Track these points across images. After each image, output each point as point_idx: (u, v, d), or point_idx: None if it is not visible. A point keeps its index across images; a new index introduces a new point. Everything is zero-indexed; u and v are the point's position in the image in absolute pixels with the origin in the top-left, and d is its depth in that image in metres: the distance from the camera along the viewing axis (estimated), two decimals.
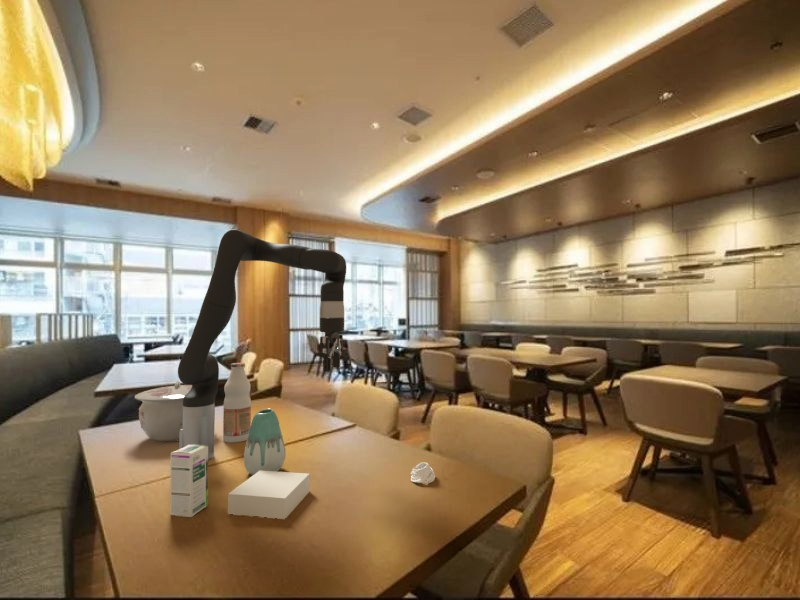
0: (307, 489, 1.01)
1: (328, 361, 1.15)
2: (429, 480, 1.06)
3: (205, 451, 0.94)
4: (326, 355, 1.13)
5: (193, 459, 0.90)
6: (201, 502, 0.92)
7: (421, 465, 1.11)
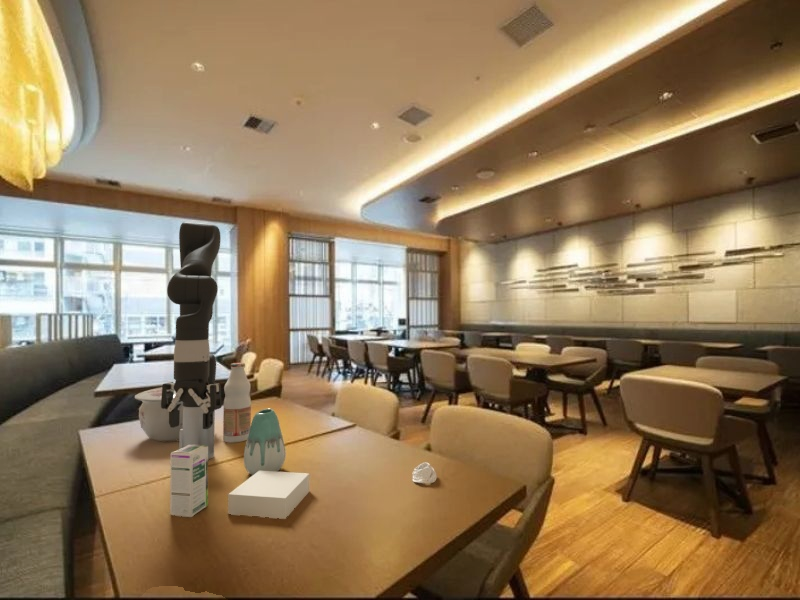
0: (307, 489, 1.01)
1: None
2: (430, 480, 1.06)
3: (205, 451, 0.94)
4: (220, 406, 0.93)
5: (193, 459, 0.90)
6: (201, 502, 0.92)
7: (422, 465, 1.11)
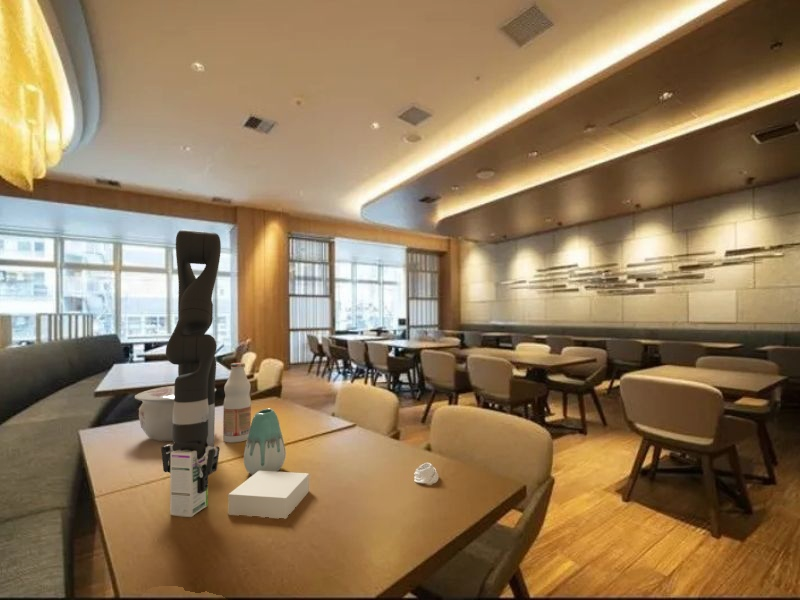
0: (307, 489, 1.01)
1: None
2: (432, 481, 1.06)
3: None
4: (215, 469, 0.92)
5: (193, 459, 0.90)
6: (201, 502, 0.92)
7: (424, 465, 1.11)
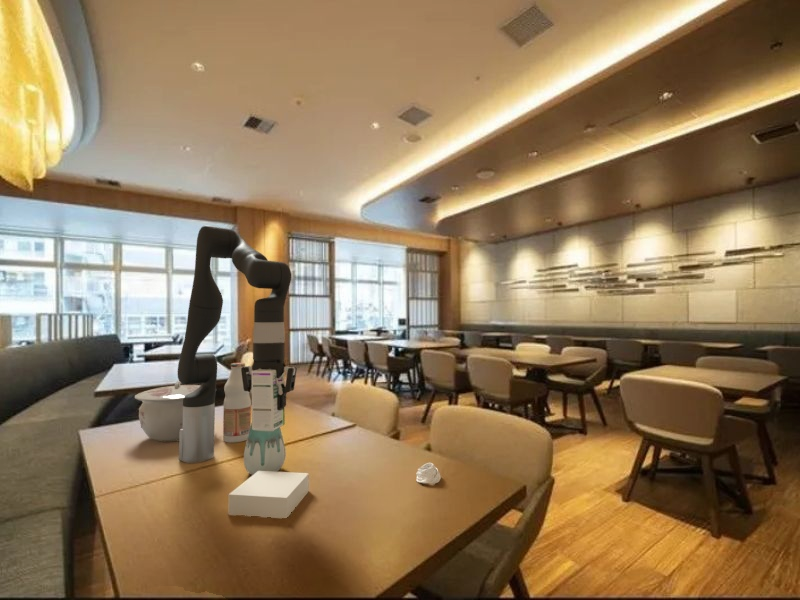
0: (307, 488, 1.01)
1: None
2: (434, 481, 1.06)
3: None
4: (293, 388, 0.97)
5: (273, 377, 0.94)
6: (280, 419, 0.96)
7: (426, 465, 1.11)
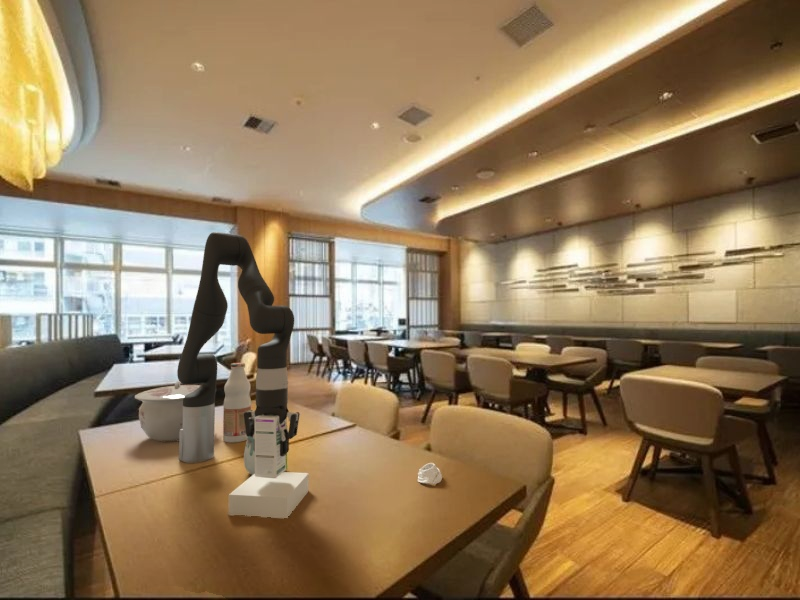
0: (306, 488, 1.01)
1: None
2: (436, 481, 1.05)
3: None
4: (295, 434, 0.97)
5: (276, 423, 0.94)
6: (282, 465, 0.96)
7: (428, 466, 1.11)
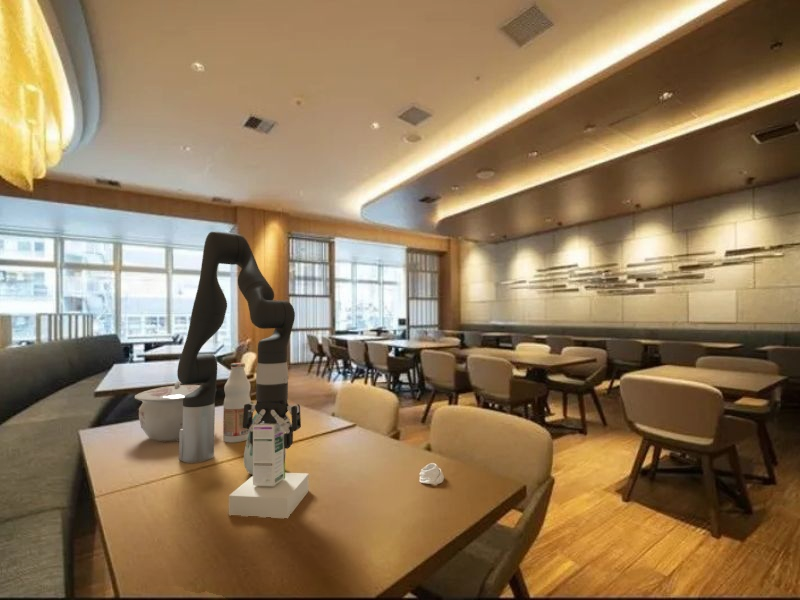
0: (307, 489, 1.01)
1: None
2: (438, 481, 1.05)
3: None
4: (300, 426, 0.97)
5: (275, 430, 0.95)
6: (280, 473, 0.97)
7: (429, 466, 1.11)
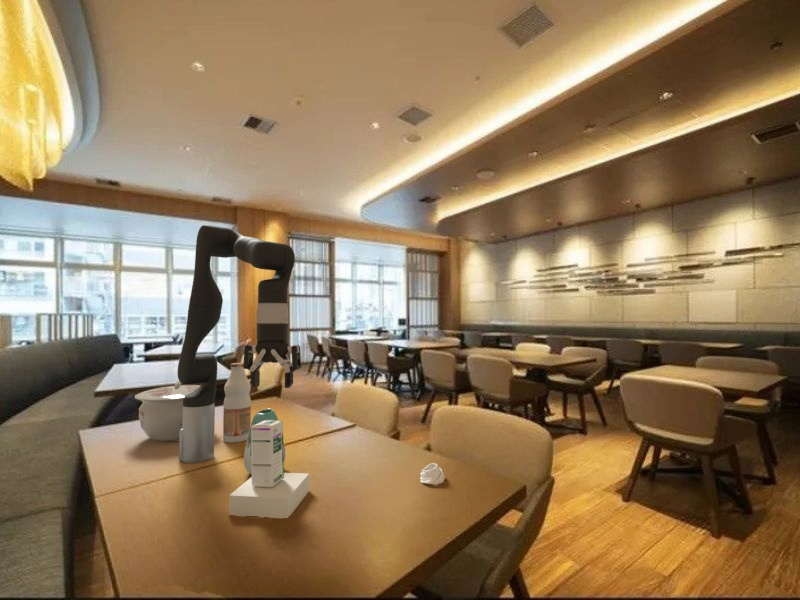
0: (307, 489, 1.01)
1: None
2: (438, 481, 1.05)
3: (281, 425, 0.99)
4: (300, 366, 0.97)
5: (273, 431, 0.95)
6: (279, 473, 0.97)
7: (430, 466, 1.11)
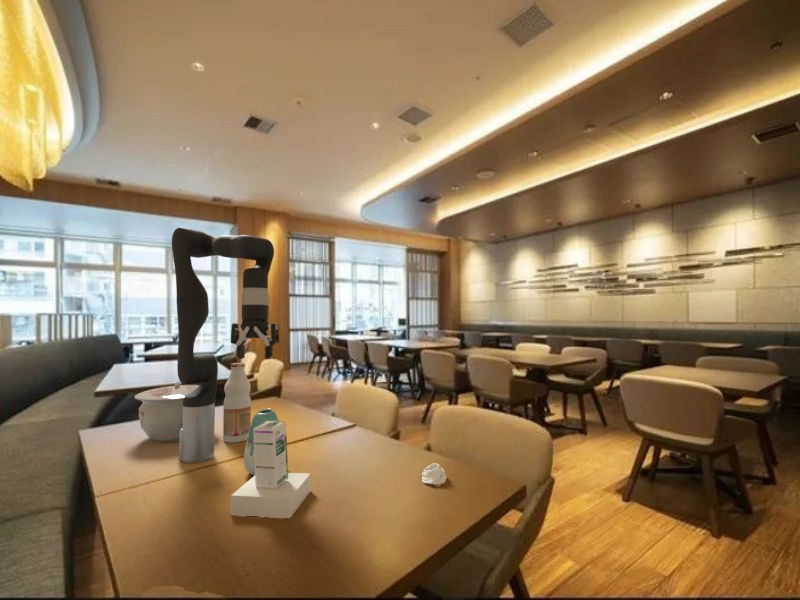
0: (308, 489, 1.01)
1: None
2: (440, 481, 1.05)
3: (284, 426, 0.97)
4: (278, 341, 1.15)
5: (275, 434, 0.94)
6: (283, 474, 0.96)
7: (432, 466, 1.11)
